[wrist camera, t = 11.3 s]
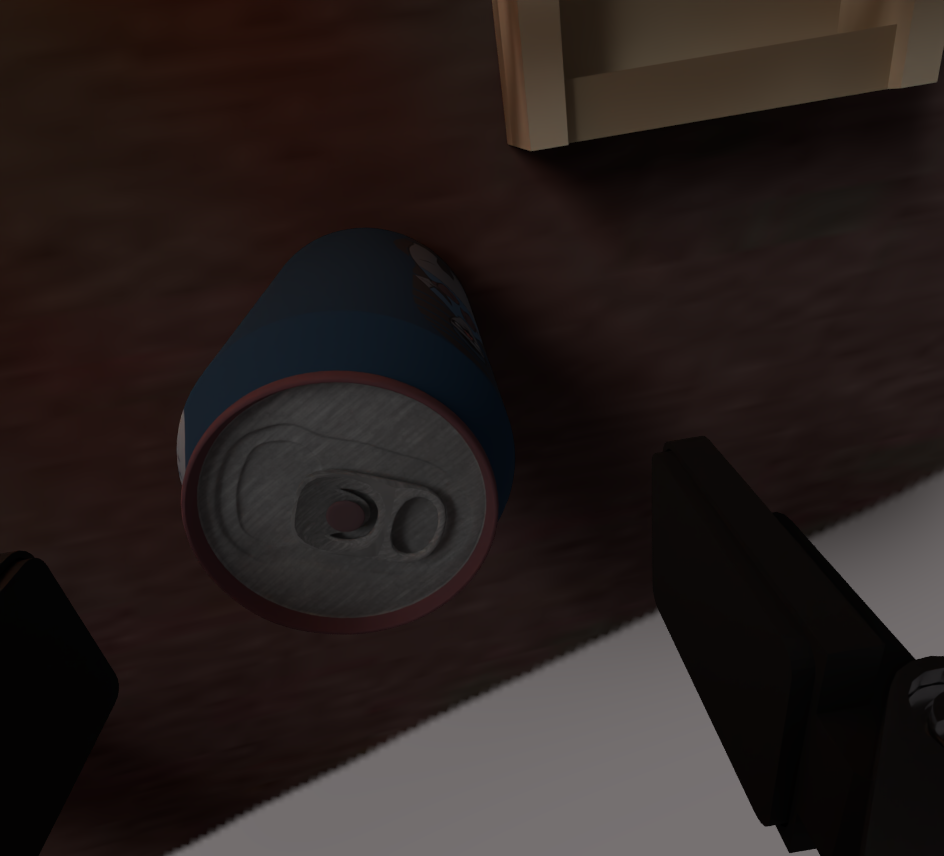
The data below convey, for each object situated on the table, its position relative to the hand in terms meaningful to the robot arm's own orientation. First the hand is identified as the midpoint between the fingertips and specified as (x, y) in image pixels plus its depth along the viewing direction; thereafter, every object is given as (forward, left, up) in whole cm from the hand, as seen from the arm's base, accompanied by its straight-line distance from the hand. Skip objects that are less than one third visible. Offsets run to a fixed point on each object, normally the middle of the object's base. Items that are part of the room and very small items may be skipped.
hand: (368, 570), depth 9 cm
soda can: (0, +1, -14) cm, 14 cm away
